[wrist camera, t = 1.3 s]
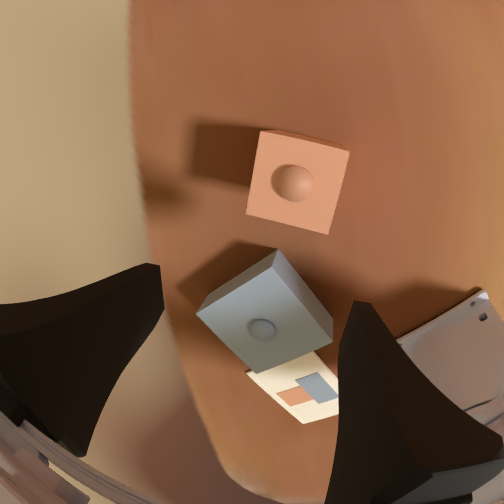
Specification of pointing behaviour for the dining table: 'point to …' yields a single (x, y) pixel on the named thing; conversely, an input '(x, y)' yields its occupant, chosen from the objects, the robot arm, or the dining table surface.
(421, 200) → the dining table surface
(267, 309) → the base brick
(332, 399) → the page
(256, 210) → the top brick
